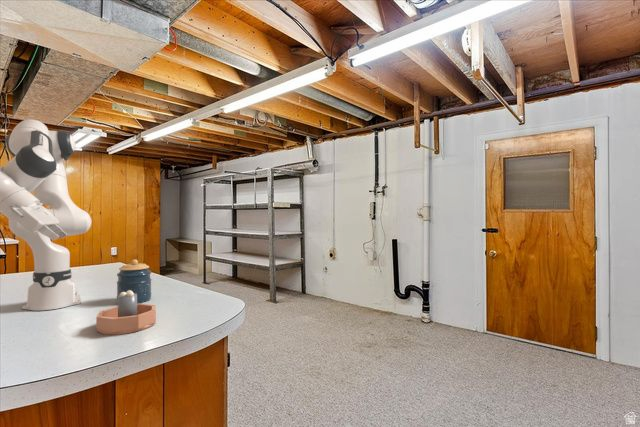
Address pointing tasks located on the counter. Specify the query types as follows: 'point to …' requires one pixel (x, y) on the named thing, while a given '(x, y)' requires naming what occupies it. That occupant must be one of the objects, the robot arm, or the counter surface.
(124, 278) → the canister
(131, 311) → the pebble cup
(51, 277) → the robot arm
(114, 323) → the terracotta bowl
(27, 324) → the counter surface
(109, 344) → the counter surface
